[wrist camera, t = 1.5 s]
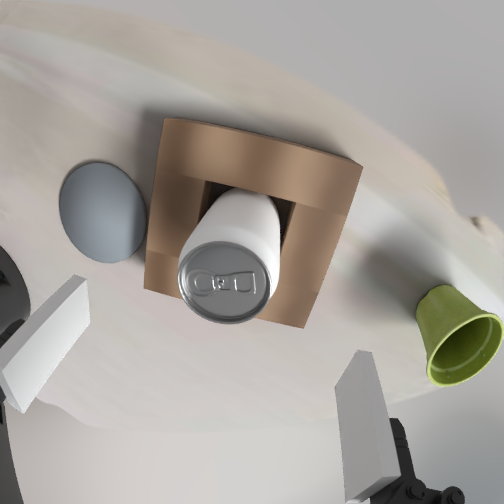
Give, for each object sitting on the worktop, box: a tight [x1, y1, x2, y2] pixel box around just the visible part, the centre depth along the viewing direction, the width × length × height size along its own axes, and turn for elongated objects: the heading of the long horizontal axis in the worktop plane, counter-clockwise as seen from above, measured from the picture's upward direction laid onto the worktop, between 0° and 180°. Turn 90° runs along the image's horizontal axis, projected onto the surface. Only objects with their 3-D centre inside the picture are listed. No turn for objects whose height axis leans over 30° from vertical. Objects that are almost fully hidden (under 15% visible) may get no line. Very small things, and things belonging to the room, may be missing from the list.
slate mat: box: [60, 163, 147, 263], centre depth 29 cm, size 11×11×1 cm
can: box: [177, 187, 280, 324], centre depth 23 cm, size 6×6×12 cm
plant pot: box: [416, 285, 504, 387], centre depth 27 cm, size 9×9×9 cm
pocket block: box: [144, 118, 363, 329], centre depth 27 cm, size 16×16×4 cm
